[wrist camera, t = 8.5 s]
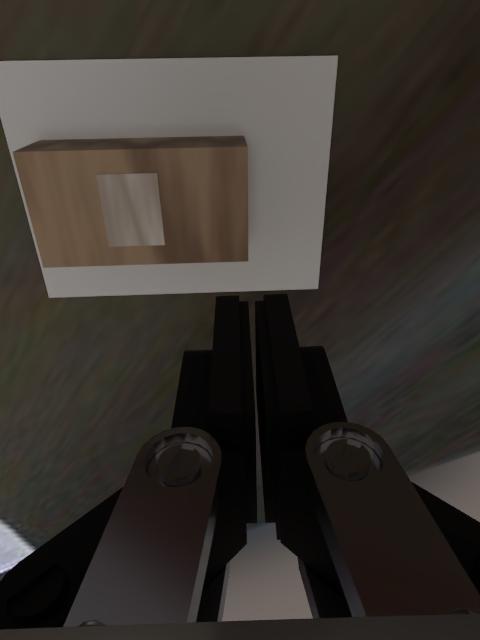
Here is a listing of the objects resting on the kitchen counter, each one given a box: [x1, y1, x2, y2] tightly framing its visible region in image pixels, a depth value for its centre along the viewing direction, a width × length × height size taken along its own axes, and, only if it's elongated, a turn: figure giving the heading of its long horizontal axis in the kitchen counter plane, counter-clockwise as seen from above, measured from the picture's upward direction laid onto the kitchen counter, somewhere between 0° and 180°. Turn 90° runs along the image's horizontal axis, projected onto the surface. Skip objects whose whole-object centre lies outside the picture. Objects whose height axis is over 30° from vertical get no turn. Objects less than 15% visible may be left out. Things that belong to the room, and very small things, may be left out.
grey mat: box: [0, 56, 338, 298], centre depth 34 cm, size 24×18×1 cm
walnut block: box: [13, 136, 248, 268], centre depth 32 cm, size 5×8×15 cm
